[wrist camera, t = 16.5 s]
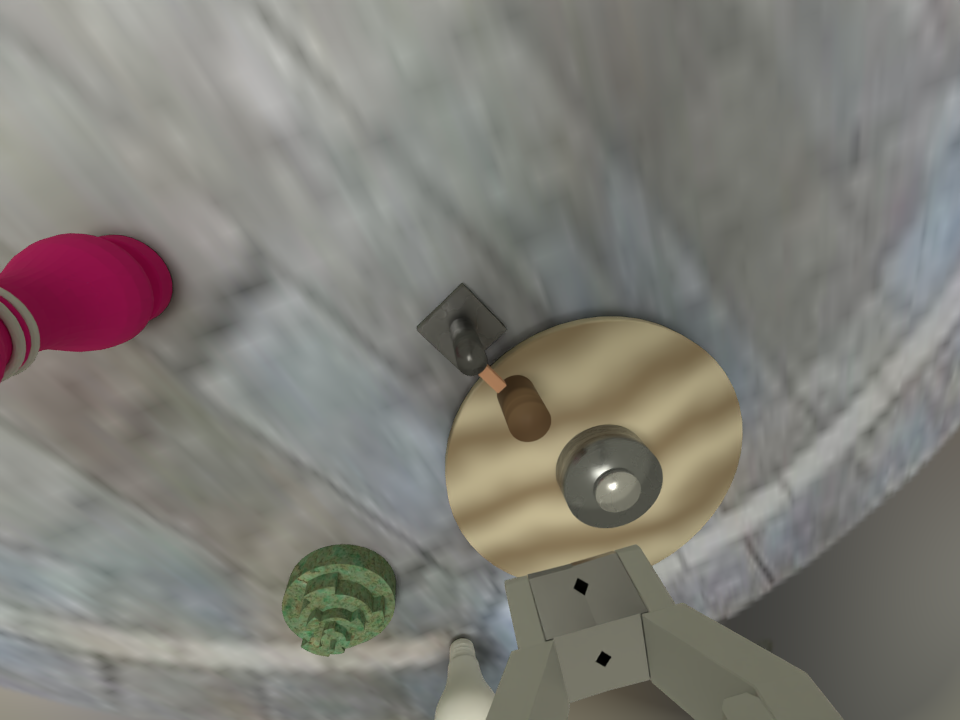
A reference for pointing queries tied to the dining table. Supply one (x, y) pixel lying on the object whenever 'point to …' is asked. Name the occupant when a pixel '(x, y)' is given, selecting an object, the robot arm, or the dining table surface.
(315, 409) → the dining table surface
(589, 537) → the turntable
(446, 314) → the pointer
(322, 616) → the decorative artifact
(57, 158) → the dining table surface
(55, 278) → the pepper mill
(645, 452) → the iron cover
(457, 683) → the lightbulb
